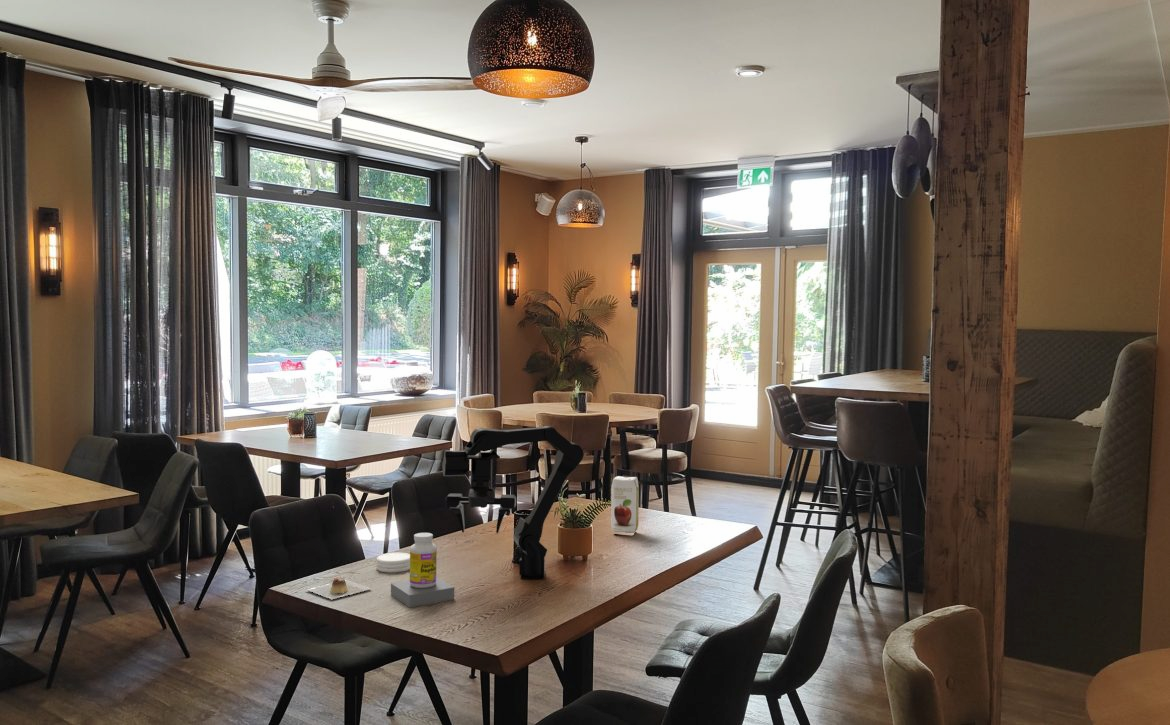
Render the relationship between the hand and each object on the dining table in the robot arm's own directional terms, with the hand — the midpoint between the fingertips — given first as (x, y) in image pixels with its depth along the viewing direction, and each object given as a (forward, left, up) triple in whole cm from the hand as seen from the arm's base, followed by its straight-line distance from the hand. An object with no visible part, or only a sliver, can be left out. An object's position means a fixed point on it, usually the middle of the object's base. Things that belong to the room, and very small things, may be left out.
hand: (480, 532), depth 229 cm
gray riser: (+13, +15, -13) cm, 24 cm away
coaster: (+26, -12, -14) cm, 32 cm away
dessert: (+35, +10, -14) cm, 39 cm away
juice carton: (-42, -55, -13) cm, 71 cm away
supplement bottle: (+13, +15, -10) cm, 22 cm away
